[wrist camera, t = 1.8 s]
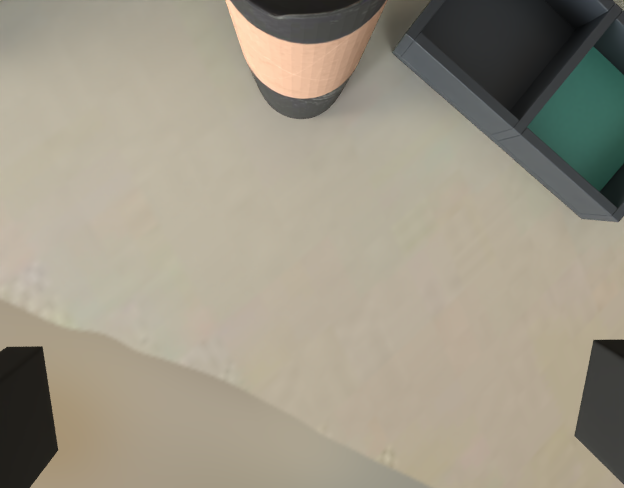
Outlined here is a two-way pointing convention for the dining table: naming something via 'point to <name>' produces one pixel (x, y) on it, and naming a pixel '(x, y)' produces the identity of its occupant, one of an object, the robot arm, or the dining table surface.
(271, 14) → the travel mug
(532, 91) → the divided organizer tray
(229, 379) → the dining table surface
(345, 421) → the dining table surface
